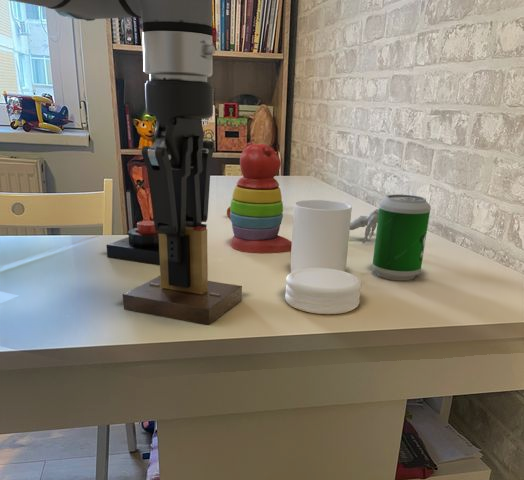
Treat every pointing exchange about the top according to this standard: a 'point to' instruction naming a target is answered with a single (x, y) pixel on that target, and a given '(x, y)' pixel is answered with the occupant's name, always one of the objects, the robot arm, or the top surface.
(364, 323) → the top surface
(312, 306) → the coaster
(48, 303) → the top surface
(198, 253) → the lock turn
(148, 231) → the release button
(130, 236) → the release box
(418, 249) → the soda can
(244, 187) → the stacking bear
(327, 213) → the mug
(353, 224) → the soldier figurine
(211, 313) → the plate
